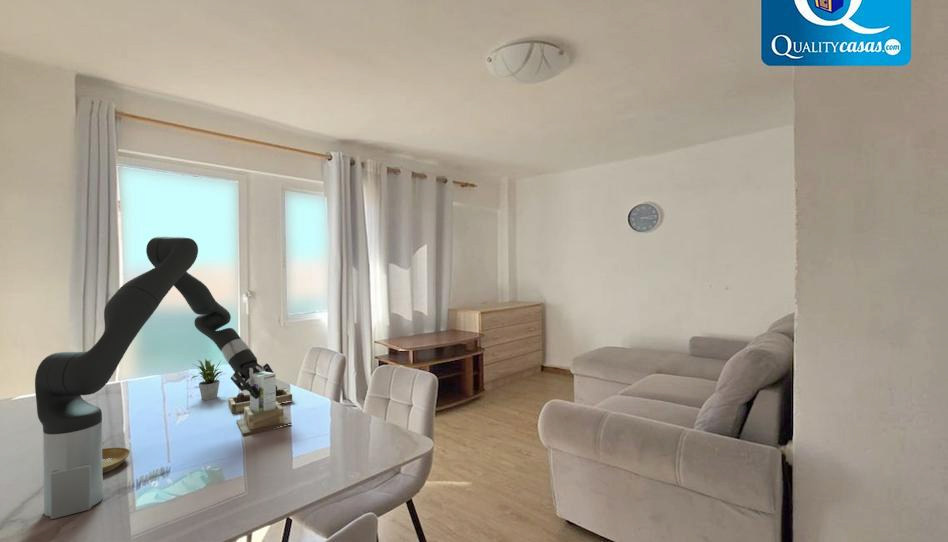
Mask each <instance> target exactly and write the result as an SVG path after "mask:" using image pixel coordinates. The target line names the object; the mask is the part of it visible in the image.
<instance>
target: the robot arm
mask: <svg viewBox="0 0 948 542" xmlns="http://www.w3.org/2000/svg"><path fill="white" fill-rule="evenodd" d="M145 253H146V256H147V259H148V261H149V262H150V263H151V265H152V266H153V268H152V269H150V270H148V271H146V272H144V273H141V274H140V275H137V276H136V277H134V278H132V279H130V280H129V281H127V282H126V283H124V284H123V285H122V286H121V287H120V288H119V289H118V290H117V291H116V292H115V293H114V294H113V295H112V296H111V298H109V300H108V302H106V305H105V307H104V309H103V319H104V320H103V321H104V332H103V333H102V335H101V336H100V338H98V340H97V342H96V343H95V344H94V345H93V346H92V347H91V348H90V349H89V350H87V351H64V352H63V351H62V352H55V353H51V354H49V355H48V356H46V357H45V358H44V359H43V360H42V361H41V362H40V363H39V365H38V367H37V369H36V373H35V377H34V390H35V401H36V414H37V418H38V420H39V422H40V423H41V425H42V443H43V445H42V447H43V448H42V451H43V452H42V453H43V454H42V455H43V456H42V457H43V458H42V459H43V460H42V461H43V464H42V465H43V507H44V508H43V512H44V516H45V517H49V518H50V519H49V520H55V519H58V518H63V517H65V516H69V515H73V514H77V513H81V512H84V511H89V510H91V509H92V508H93V506H95V505H97V504H99V503H100V502H101V500H103V497H104V477H103V475H104V474H103V467H102V449H103V413H102V409H101V408H100V407H98V406H96V405H94V404H91V403H89V402H87V401H86V400H85V399H84V398H83V397H82V396H89V395H93V394H95V393H97V392H99V391H100V390H102V389H103V388H104V387H105V386H106V385H107V384H108V382H109V381H110V379H111V378H112V376H113V375H114V374H115V371H116V370H117V368H118V367H119V365H120V363H121V361H122V360H123V358H124V356H125V354H126V352H127V350H128V349H129V347H130V346H131V344H132V343H133V341H135V338H136V336H137V335H138V334H139V333H140V331H141V329H142V328H143V327H144V325H145V324H146V323H147V322H148V320H149V319H150V318H151V317H152V315H153V314H154V313H155V311H156V310H157V309H158V307H159V306H160V304H161V302H162V301H163V300H164V298H165V297H166V296H167V295H168V294H169V291H171V289H172V288H173V287H174V288H175V289H176V290H177V291H178V292H179V293H180V294H181V295H182V297H183V299H184V300H185V302H186V303H187V305H188V306H189V308H190V309H191V311H193V313H194V314H196V315H197V316H196V318H195V319H194V327H195V328H196V329H197V331H199V332H200V334H202V335H204V336H206V337H207V338H209V339H210V340H211V341H212V342H214V344H215V345H216V347H217V348H218V350H219V351H220V352H221V354H222V356H223V357H224V359H225V360H226V362H227V363H228V365H229V366H230V368H231V369H232V370H233V372H234V373H233V374H232V375H231V376H230V380H231V381H232V383H234V384H235V386H236V387H237V388H238V389H239V390H240V391H241V392H243V391H246V392H249V394H251V395H252V397H254V398H255V399H257V398H259V397H260V395H261V394H260V392H259V391H258V390H257V388H256V387H255V386H253V385H254V384H253V377H252V375H253V374H254V373H258V372H264V371H265V372H270V373H275V372H274V371H273V369H272V368H271V366H270V365H269V363H265V364H264V365H261V364H260V363H258V358H257V356H256V355H255V354H254V352H253V351H252V350H251V349H250V348H249V345H248V344H247V343H246V342H245V341H244V340H243V339H242V338H241V337H240V335H239V334H238V332H237V331H236V330H235V329H234V328H233V327H227V328H223V327H224V326H226V325H228V324H229V323H230V321H231V319H232V316H231V313H230V311H229V310H227V309H226V308H225V307H224V306H223V305H221V304H219V303H218V301H216V299H215V297H214V295H212V292H211V291H210V289H209V288H208V287H207V286H206V284H204V283H203V282H202V281H201V280H200V279H198V278H196V277H195V276H193V274H190V273H189V272H188V271H189V270H190V268H191V267H192V266H193V265H194V264H195V262H196V260H197V258H198V254H199V246H198V244H197V242H196V241H195V239H192V238H190V237H188V236H187V237H186V236H175V235H174V236H169V235H167V236H165V235H163V236H162V235H161V236H155V237H153V238H150V240H149V241H148V242H147V245H146V250H145ZM221 328H223V329H221ZM219 329H220V330H219ZM276 390H278V386H277V385H276Z"/></svg>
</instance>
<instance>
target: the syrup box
mask: <svg viewBox="0 0 948 542" xmlns="http://www.w3.org/2000/svg"><path fill="white" fill-rule="evenodd" d="M276 374H277V373H276V372H274V373H270V372H265V371H264V372H258V373H254V374H253V375H252V377H253V384H254V385H253V386H255V387H256V388H257V390H258V391H259V392H260V394H261V395H260V397H259V398H257V399H255V398H254V397H252V395H251V394H250V393H249V394H250V410H251V412H252V413H258V412H264V411H269V410H274V409H276V386H277V384H276V383H277V381H276V379H277V378H276V377H277V376H276Z"/></svg>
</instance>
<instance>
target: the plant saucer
mask: <svg viewBox="0 0 948 542" xmlns="http://www.w3.org/2000/svg"><path fill="white" fill-rule="evenodd" d="M130 454H131V450H130V449H129V448H126V447H106V448H102V459H105V461H106V459H108V458H110V459H111V458H112V459H111V461H112V462H110V461H109V462H107V461H106V462H104V461H103V463H102V467H103V473H104V474H105V473H108V472H111V471H113V470H115V469H116V468H118V467H119V466H120V465H122V464H123V463H124V461H125V460H126V459H127V458H128V457H129V455H130Z"/></svg>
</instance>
